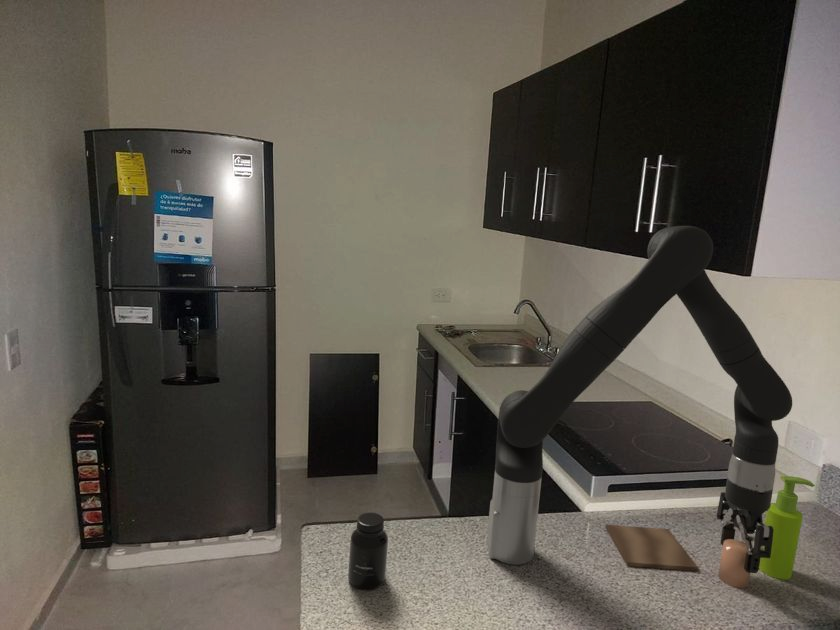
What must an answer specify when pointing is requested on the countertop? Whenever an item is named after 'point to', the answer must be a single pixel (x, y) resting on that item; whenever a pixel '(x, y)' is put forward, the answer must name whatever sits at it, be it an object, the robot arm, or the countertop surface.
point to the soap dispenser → (784, 530)
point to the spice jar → (733, 564)
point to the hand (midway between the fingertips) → (738, 558)
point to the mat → (650, 548)
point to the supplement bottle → (368, 552)
